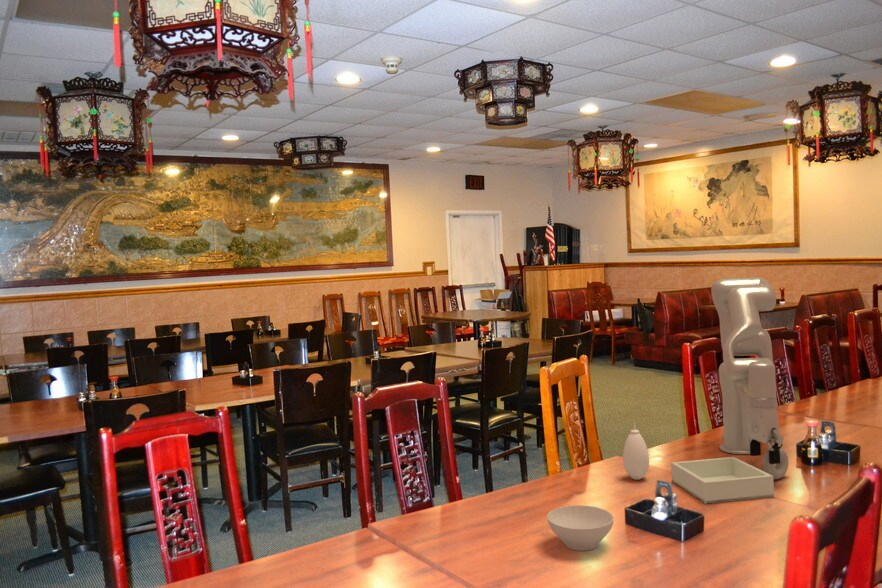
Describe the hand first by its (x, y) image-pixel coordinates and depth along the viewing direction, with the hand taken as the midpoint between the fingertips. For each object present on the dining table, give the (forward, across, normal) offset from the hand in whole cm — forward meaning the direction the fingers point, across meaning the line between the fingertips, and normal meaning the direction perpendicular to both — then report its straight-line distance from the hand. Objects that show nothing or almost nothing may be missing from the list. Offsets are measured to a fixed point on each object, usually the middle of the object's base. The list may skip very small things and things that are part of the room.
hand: (764, 459), depth 211 cm
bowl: (+8, +31, -68) cm, 76 cm away
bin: (+7, +3, -16) cm, 18 cm away
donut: (+7, -1, +4) cm, 8 cm away
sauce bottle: (+7, -13, -35) cm, 38 cm away
